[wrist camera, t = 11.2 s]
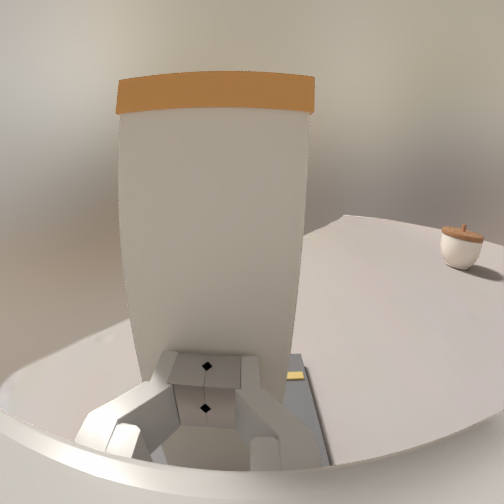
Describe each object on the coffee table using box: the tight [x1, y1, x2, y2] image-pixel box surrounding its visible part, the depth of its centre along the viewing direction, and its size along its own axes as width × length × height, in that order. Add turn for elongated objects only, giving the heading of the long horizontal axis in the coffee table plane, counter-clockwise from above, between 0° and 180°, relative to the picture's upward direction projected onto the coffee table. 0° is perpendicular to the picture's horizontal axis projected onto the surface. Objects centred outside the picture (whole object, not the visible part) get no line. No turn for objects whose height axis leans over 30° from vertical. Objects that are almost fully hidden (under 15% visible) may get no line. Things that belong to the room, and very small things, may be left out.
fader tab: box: [116, 71, 315, 471], centre depth 10 cm, size 3×5×17 cm, turn 91°
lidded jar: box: [441, 224, 484, 270], centre depth 50 cm, size 11×11×9 cm
